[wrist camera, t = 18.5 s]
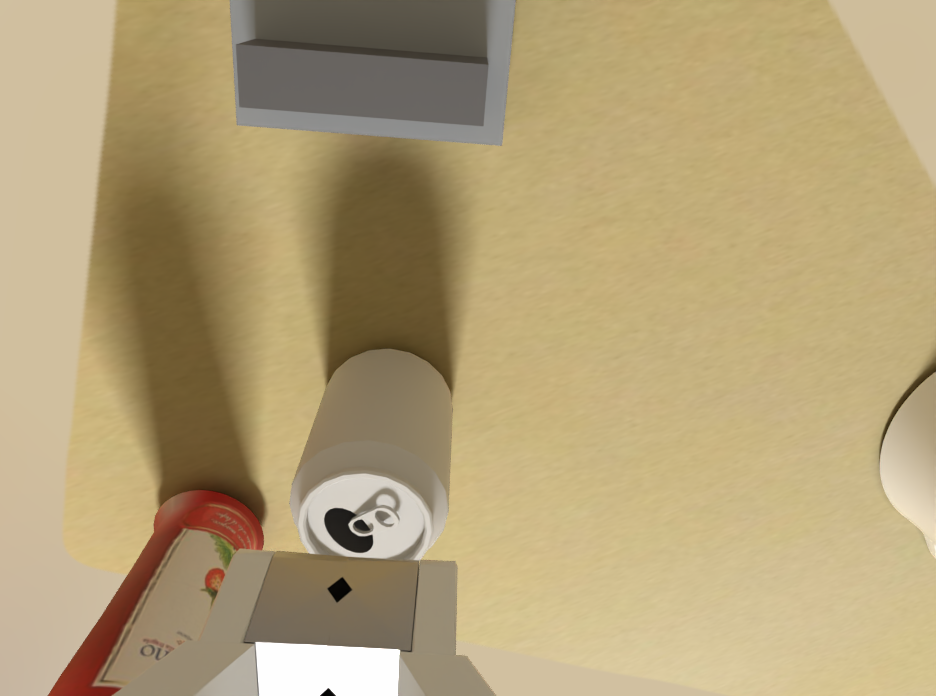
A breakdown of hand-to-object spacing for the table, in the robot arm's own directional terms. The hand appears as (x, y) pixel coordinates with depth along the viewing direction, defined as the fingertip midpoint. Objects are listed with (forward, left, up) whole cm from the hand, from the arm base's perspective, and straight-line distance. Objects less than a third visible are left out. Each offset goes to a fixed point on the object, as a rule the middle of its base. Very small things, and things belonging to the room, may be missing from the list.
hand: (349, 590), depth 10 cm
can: (+2, +15, -31) cm, 35 cm away
